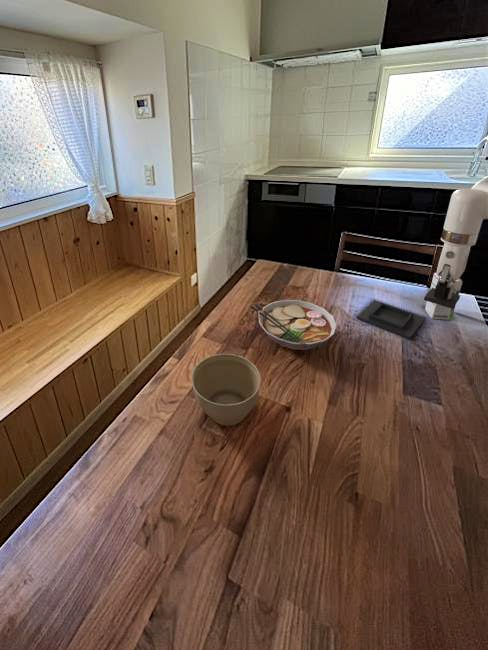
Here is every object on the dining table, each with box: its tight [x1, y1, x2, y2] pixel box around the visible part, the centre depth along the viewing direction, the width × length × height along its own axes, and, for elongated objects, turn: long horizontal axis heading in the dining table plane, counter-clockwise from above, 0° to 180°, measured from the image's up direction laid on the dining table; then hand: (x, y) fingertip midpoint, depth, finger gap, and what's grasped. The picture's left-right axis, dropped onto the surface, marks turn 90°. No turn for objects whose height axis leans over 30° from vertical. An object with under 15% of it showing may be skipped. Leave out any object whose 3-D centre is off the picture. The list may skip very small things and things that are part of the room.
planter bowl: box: [190, 353, 262, 427], centre depth 81 cm, size 16×16×11 cm
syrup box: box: [424, 272, 463, 321], centre depth 109 cm, size 6×6×14 cm
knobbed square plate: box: [423, 280, 461, 309], centre depth 97 cm, size 7×7×6 cm
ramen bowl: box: [250, 299, 337, 351], centre depth 104 cm, size 25×23×8 cm
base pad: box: [356, 299, 426, 341], centre depth 111 cm, size 16×14×2 cm
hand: (442, 294), depth 97 cm, fingers closed on knobbed square plate, 4 cm apart
